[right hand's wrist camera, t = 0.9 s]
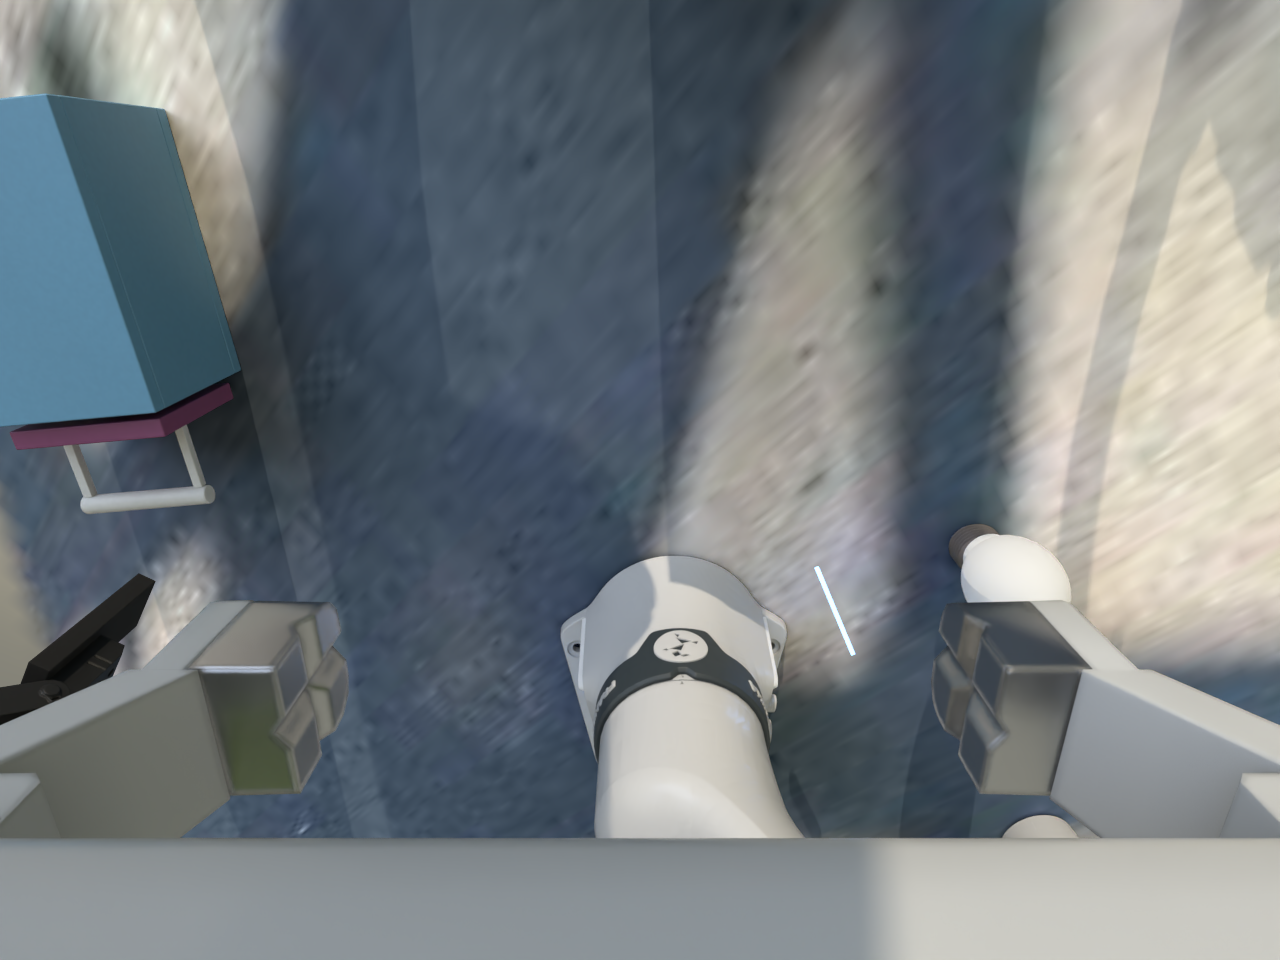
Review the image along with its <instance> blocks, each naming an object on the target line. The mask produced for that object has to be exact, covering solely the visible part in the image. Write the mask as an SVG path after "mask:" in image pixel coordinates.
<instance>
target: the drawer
mask: <svg viewBox="0 0 1280 960" xmlns="http://www.w3.org/2000/svg"><path fill="white" fill-rule="evenodd" d="M231 399H233V395H232V391H231V388H230V385H229V383H221V384H212V385H210V386H208V387H206V388H204V389H202V390H200V391H198V392H196V393H194V394H192V395H190V396H188V397H186V398H184V399H182V400H180V401H178V402H176V403H174V404H172V405H170V406H168V407H166V408H164V409H162V410H160V411H158V412H156V413H149V414H138V415H127V416H116V417H105V418H94V419H83V420H72V421H61V422H50V423H38V424H28V425H26V426H23V427H21V428H19V429H16V430H14V431H11V432H10V435H11V437H12V440H13V442H14V445H15V447H16V449H17V450H21V449H33V448H44V447H55V446H64V449H65V451H66V454H67V456H68V459H69V461H70V464H71V466H72V469H73V471H74V474H75V476H76V479H77V481H78V484H79V486H80V489H81V491H82V494H83V496H84V497H83V498H82V500H81V509H82V510H83V512H85V513H87V514H94V513H106V512H117V511H129V510H140V509H152V508H164V507H175V506H187V505H198V504H210V503H212V502H213V501H214V499H215V491H214V489H213V487H212V486H210V485H205V484H206V482H205V479H204V476H203V473H202V470H201V467H200V464H199V461H198V458H197V455H196V452H195V448H194V445H193V442H192V439H191V436H190V433H189V430H188V427H187V424H188V423H190V422H192V421H194V420H196V419H197V418H199V417H201V416H203V415H204V414H206V413H208V412H210V411H212V410H213V409H215V408H217V407H219V406H221V405H222V404H224V403H226V402H228V401H230V400H231ZM174 431H175V433H176V436H177V439H178V442H179V445H180V448H181V451H182V454H183V457H184V460H185V463H186V466H187V469H188V472H189V475H190V478H191V481H192V484H193V486H190V487H179V488H167V489H156V490H144V491H133V492H122V493H110V494H99V495H96V494H97V491H96V488H95V486H94V483H93V481H92V478H91V476H90V473H89V470H88V468H87V465H86V463H85V460H84V458H83V455H82V452H81V450H80V447H79V445H78V444H88V443H100V442H111V441H122V440H133V439H144V438H155V437H165V436H167V435H169V434H171V433H172V432H174Z"/></svg>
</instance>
